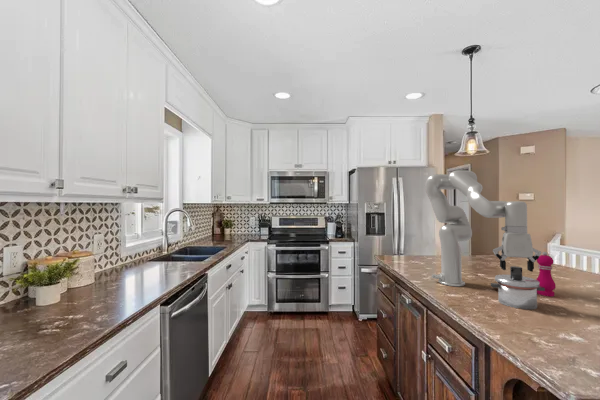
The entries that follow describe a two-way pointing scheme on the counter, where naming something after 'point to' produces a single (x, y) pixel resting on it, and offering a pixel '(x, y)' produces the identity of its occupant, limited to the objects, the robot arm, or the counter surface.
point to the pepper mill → (545, 275)
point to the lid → (517, 279)
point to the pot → (517, 296)
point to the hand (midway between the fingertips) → (516, 270)
